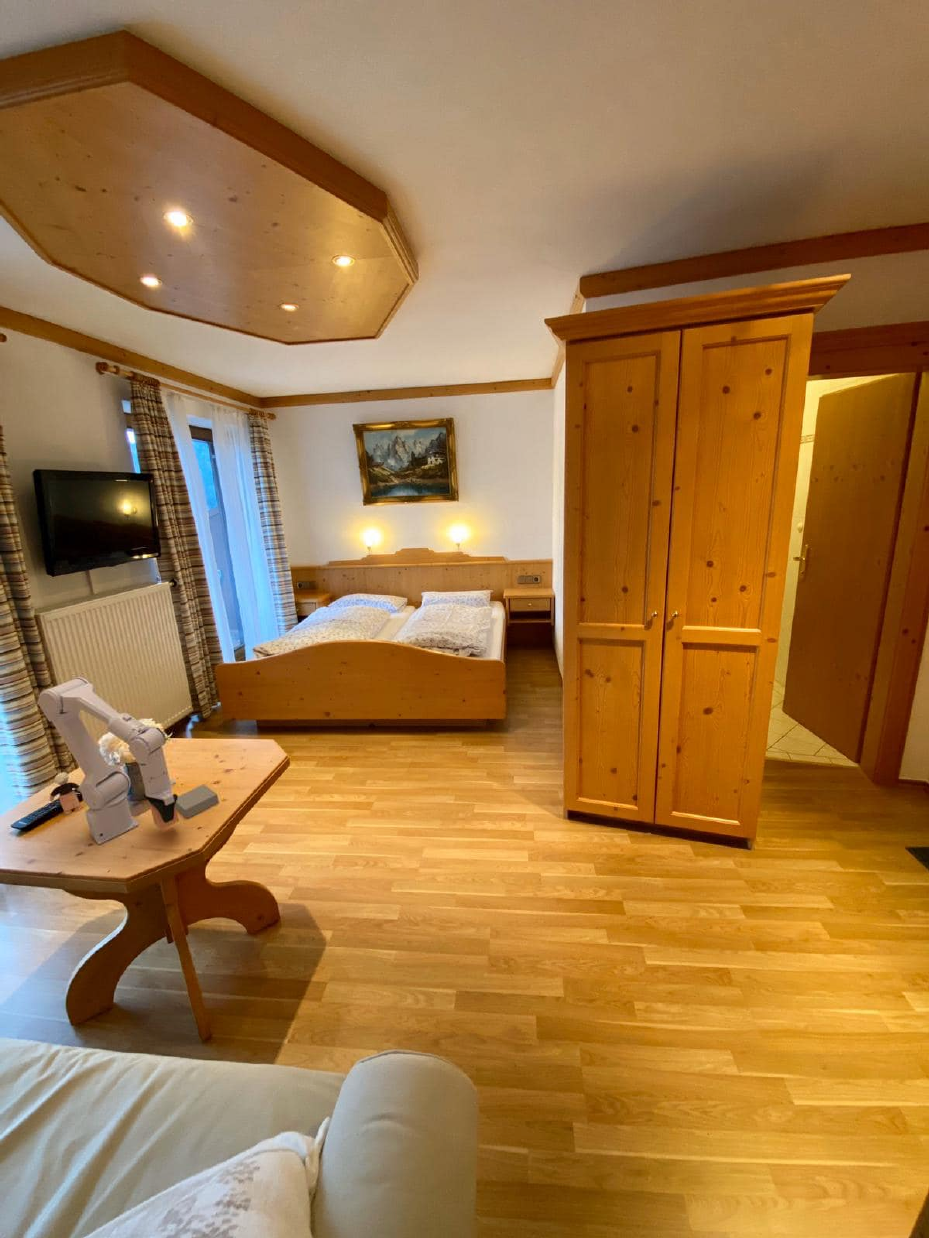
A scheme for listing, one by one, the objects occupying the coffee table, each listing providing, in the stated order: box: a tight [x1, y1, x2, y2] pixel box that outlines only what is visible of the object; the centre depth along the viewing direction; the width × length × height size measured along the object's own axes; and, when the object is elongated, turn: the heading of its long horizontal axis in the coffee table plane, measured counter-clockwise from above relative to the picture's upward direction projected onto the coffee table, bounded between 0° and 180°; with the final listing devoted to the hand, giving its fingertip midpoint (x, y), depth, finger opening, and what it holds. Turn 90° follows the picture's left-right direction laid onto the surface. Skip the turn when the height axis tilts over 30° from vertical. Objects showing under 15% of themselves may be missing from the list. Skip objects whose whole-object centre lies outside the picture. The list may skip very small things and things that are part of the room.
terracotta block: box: [149, 803, 180, 831], centre depth 129 cm, size 4×4×6 cm
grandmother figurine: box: [49, 771, 84, 815], centre depth 141 cm, size 8×4×13 cm, turn 141°
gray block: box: [175, 783, 220, 820], centre depth 142 cm, size 9×9×3 cm
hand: (165, 817), depth 129 cm, fingers closed on terracotta block, 4 cm apart
